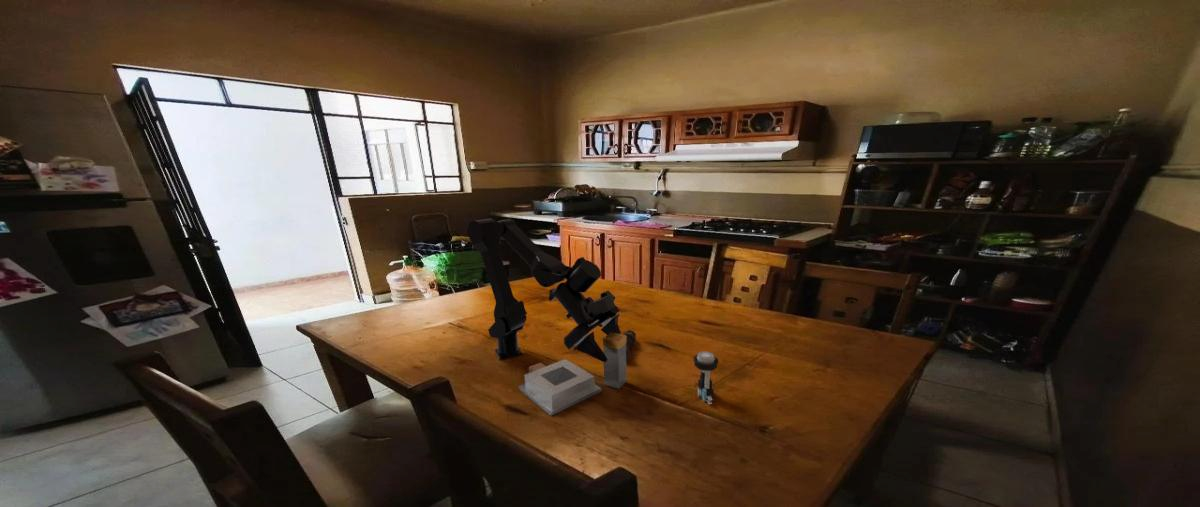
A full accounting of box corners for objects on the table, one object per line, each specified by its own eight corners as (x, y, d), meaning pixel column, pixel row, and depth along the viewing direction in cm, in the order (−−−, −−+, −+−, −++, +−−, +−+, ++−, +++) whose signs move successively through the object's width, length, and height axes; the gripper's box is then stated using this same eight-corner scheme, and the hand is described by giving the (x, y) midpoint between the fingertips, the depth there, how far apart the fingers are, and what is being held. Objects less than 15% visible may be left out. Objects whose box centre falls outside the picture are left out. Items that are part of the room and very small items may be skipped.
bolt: (633, 346, 117) (622, 368, 103) (619, 337, 118) (606, 357, 104) (642, 331, 116) (632, 351, 101) (628, 322, 116) (616, 341, 102)
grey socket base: (510, 382, 95) (509, 368, 94) (557, 363, 103) (556, 350, 103) (550, 415, 81) (550, 399, 80) (601, 391, 89) (601, 376, 89)
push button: (722, 405, 83) (724, 363, 81) (697, 406, 83) (698, 364, 81) (712, 389, 89) (714, 349, 87) (690, 390, 89) (690, 350, 87)
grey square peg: (604, 384, 92) (602, 338, 90) (612, 377, 96) (611, 332, 93) (619, 389, 90) (618, 341, 88) (626, 380, 94) (626, 335, 91)
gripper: (572, 294, 83) (618, 351, 80) (612, 274, 99) (652, 321, 95) (545, 322, 88) (587, 377, 85) (587, 299, 104) (624, 344, 101)
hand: (615, 353), depth 91 cm, fingers open, 9 cm apart
